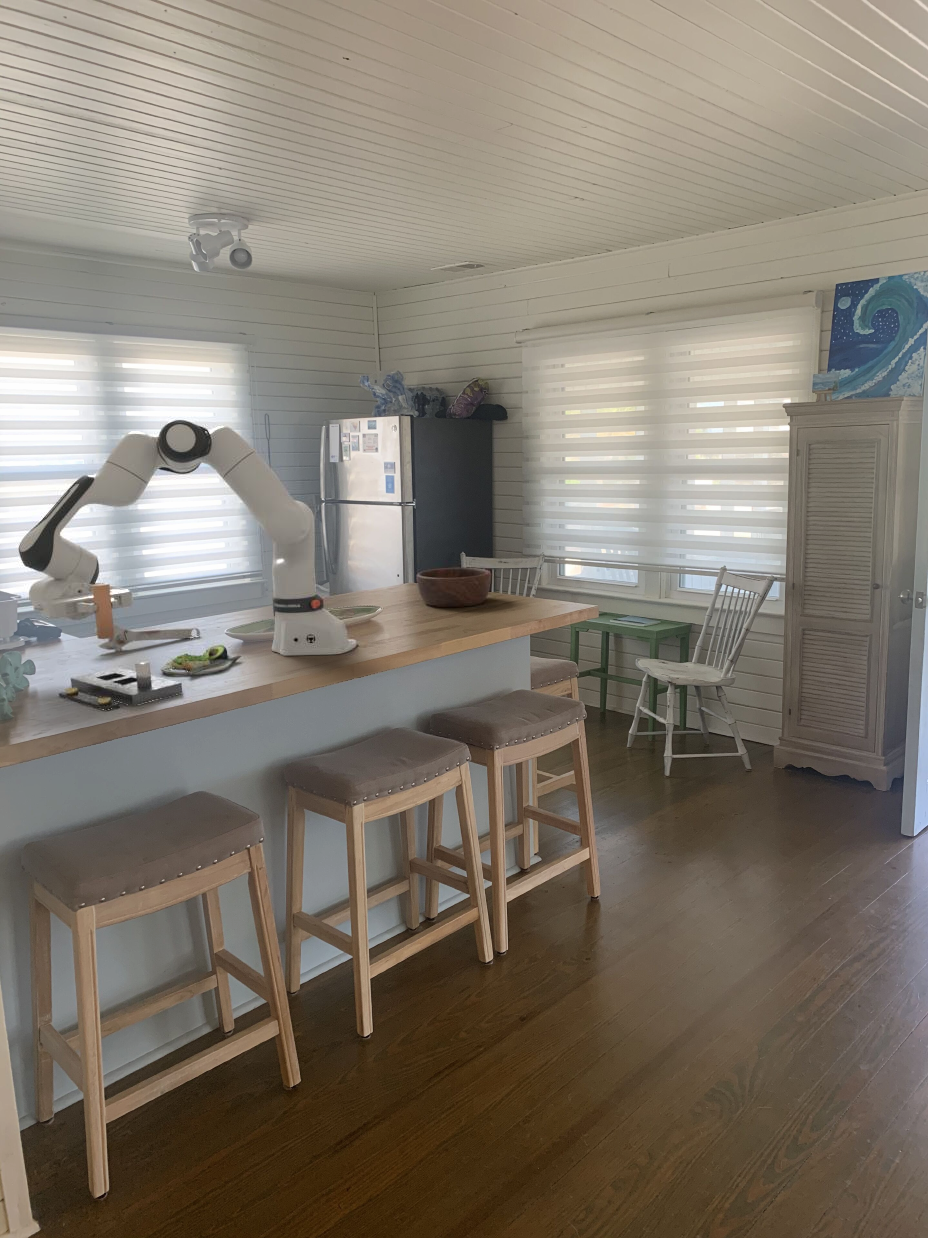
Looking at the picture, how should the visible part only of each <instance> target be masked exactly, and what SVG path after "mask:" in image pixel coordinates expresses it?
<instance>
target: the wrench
mask: <svg viewBox="0 0 928 1238" xmlns="http://www.w3.org/2000/svg"><path fill="white" fill-rule="evenodd" d="M113 625H114V635H115V637H113V638H109V639H107V640H105V641H102V642H100V643H99V644H98V647H99V648H100V649H104V650H108V651H111V650H112V651H113V650H114V651H115V650H116V651H115V652H117V651H119V650H121V651H123V647H125V646H126V645H128V644H130V643H133V642H140V641H141V642H142V641H158V640H159V641H161V640H162V641H163V640H166V641H167V640H184V639H183V638H190V637H193V636H194V635H192V632H193V631H194V630H195V631H196V633H195V635H196V636H199V637H200V635H201V631H200V629H199V628H197V627H180V628H179V627H178V628H163V629H162V628H161V629H159V628H158V629H146V630H145V629H140V630H130V629H125V628H122V627H120V626H118V625H116V624H113ZM93 635H96V636H97V627H95V628H94V630H93ZM190 639H191V638H190ZM119 652H120V651H119Z"/></svg>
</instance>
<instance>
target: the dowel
mask: <svg viewBox="0 0 928 1238" xmlns="http://www.w3.org/2000/svg"><path fill="white" fill-rule="evenodd" d="M109 584H110V583H108V584H97V585H92V589H93V599H94V603H95V604H97V609H98V611H97V612H95V614H94V616H95V624H96V627H97V635H96V636H97V639H99V640H108V639H109V638H113V637H115V635H114V625H115V624H114V618H113V609H112V606H111V596H110V587H109ZM96 627H95V628H96Z"/></svg>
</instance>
